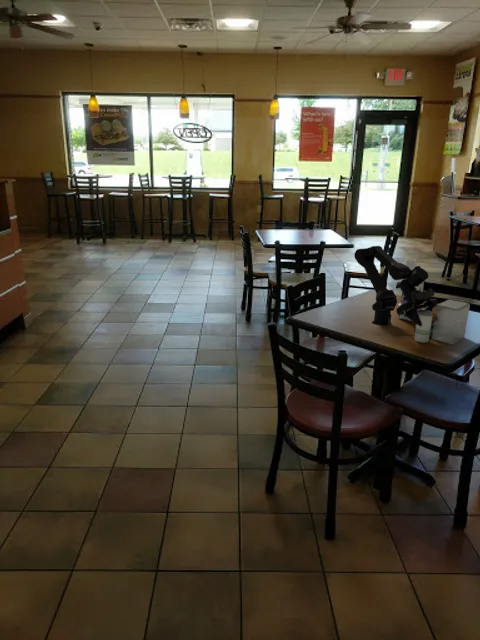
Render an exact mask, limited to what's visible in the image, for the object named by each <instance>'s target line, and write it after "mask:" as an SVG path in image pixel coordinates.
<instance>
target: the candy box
mask: <svg viewBox="0 0 480 640" xmlns="http://www.w3.org/2000/svg"><path fill="white" fill-rule="evenodd" d="M424 285H425V281H424V282H423V283H421V284H420V285H419V286H417V287H416V286H415V287H416V289H417V291H418V290H420V291H421V292H424ZM403 298H404V295H403V293H402V292H401V298H400V299H401V300H400V303H401V305H402V304H403V303H407V301H406V300H403ZM419 310H421V308H420V309H417V314H418V311H419ZM404 314H405V311H404ZM404 314H403V315H398V319H400V320H404V321H409V322H411V321H412V320H411V319H409V318H408V317H406V316H404Z"/></svg>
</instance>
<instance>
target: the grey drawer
mask: <svg viewBox="0 0 480 640" xmlns="http://www.w3.org/2000/svg"><path fill="white" fill-rule="evenodd" d="M414 323H415V322H414ZM433 328H434V323H433V324H431V330H430V335H429V338H430V337H431V338H432V334H433ZM415 330H416V323H415V324H414V331H413V332H414V333H415Z"/></svg>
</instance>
